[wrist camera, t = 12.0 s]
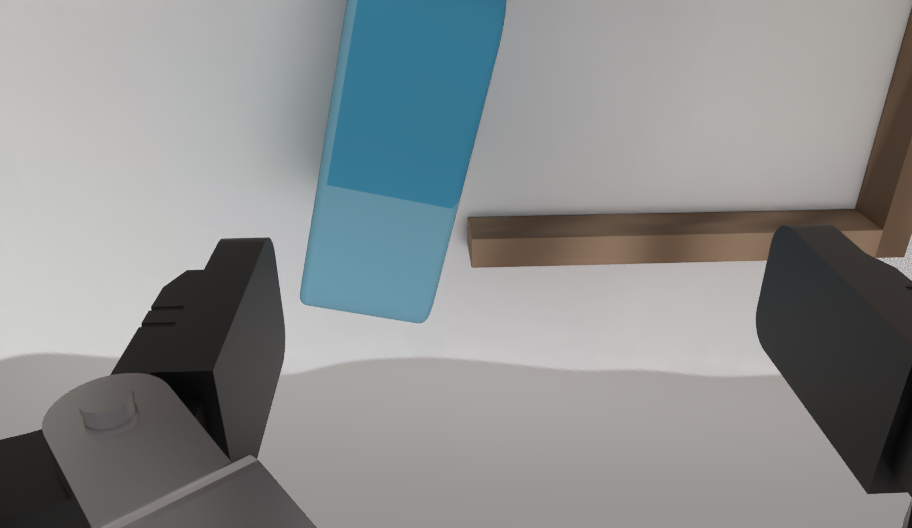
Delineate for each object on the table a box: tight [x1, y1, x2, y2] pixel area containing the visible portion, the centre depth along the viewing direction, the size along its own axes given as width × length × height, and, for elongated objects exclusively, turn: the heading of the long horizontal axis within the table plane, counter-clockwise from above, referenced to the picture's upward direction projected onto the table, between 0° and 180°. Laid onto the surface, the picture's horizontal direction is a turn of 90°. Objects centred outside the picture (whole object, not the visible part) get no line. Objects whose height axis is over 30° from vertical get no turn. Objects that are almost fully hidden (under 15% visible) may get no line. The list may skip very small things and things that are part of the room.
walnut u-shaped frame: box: [468, 10, 912, 268], centre depth 33 cm, size 22×17×2 cm
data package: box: [300, 0, 506, 323], centre depth 28 cm, size 12×4×12 cm, turn 167°
